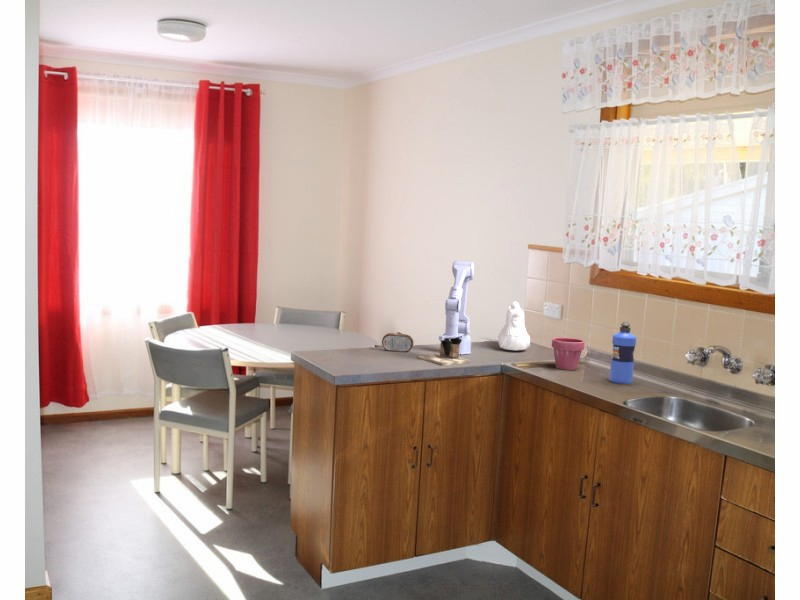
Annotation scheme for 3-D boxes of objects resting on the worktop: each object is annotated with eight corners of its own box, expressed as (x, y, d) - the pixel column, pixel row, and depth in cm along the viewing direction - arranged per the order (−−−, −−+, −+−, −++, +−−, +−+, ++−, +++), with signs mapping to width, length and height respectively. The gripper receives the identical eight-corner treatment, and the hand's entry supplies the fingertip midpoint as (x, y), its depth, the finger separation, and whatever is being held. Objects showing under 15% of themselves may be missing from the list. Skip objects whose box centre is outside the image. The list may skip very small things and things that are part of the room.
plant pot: (554, 363, 329) (556, 335, 328) (585, 367, 323) (587, 339, 322) (546, 368, 316) (548, 340, 315) (578, 372, 311) (581, 343, 309)
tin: (413, 351, 342) (413, 334, 341) (412, 353, 339) (413, 335, 338) (381, 349, 343) (382, 332, 342) (381, 351, 340) (381, 333, 339)
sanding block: (445, 355, 331) (446, 342, 330) (458, 358, 325) (459, 345, 325) (439, 356, 328) (440, 343, 328) (452, 359, 323) (453, 345, 322)
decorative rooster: (528, 354, 348) (532, 304, 345) (496, 352, 351) (499, 301, 348) (530, 346, 372) (534, 298, 369) (500, 343, 375) (503, 296, 372)
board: (445, 355, 336) (445, 353, 336) (470, 362, 322) (470, 360, 322) (418, 357, 327) (418, 355, 327) (442, 365, 313) (442, 363, 313)
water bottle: (626, 379, 302) (630, 320, 299) (636, 384, 293) (641, 323, 290) (605, 378, 301) (610, 320, 298) (615, 384, 292) (620, 323, 289)
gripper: (456, 322, 333) (454, 351, 334) (434, 325, 323) (433, 354, 324) (467, 325, 328) (465, 354, 329) (446, 327, 318) (444, 357, 319)
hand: (450, 354), depth 326 cm, fingers closed on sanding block, 4 cm apart
